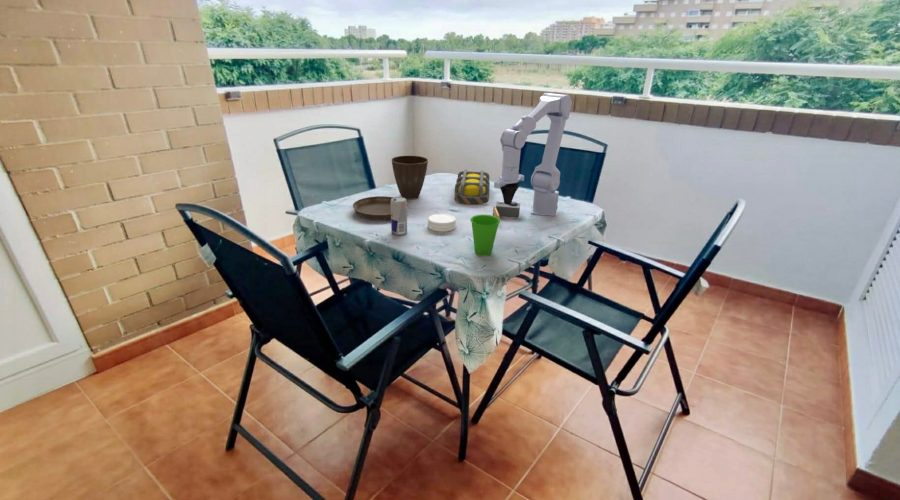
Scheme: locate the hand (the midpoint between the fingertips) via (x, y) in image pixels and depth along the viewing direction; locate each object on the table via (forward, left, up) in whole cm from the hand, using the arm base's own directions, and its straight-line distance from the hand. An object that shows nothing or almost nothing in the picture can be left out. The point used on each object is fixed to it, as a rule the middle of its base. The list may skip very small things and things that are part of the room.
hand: (507, 203), depth 153 cm
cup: (+5, +25, -9) cm, 26 cm away
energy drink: (+35, +16, -9) cm, 39 cm away
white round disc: (+22, +7, -9) cm, 25 cm away
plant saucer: (+48, -2, -9) cm, 49 cm away
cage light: (+17, -34, -9) cm, 40 cm away
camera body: (0, -12, -8) cm, 15 cm away
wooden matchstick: (+4, -4, -8) cm, 10 cm away
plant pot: (+42, -23, -9) cm, 49 cm away
